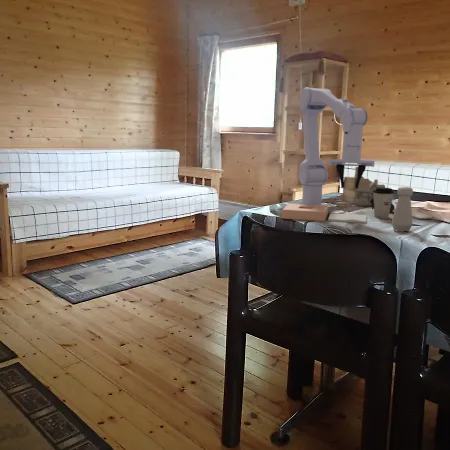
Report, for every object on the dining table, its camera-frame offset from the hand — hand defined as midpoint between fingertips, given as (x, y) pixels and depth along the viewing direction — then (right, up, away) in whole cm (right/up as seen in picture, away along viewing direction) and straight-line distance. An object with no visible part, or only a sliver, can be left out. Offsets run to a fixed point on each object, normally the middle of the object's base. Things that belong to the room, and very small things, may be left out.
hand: (349, 187), depth 153 cm
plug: (0, -4, +1) cm, 5 cm away
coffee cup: (+13, -10, +7) cm, 17 cm away
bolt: (+18, -7, +22) cm, 30 cm away
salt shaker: (+11, -14, -16) cm, 24 cm away
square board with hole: (-13, -9, +6) cm, 17 cm away
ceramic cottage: (+17, -3, +39) cm, 43 cm away
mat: (0, -10, +2) cm, 10 cm away
